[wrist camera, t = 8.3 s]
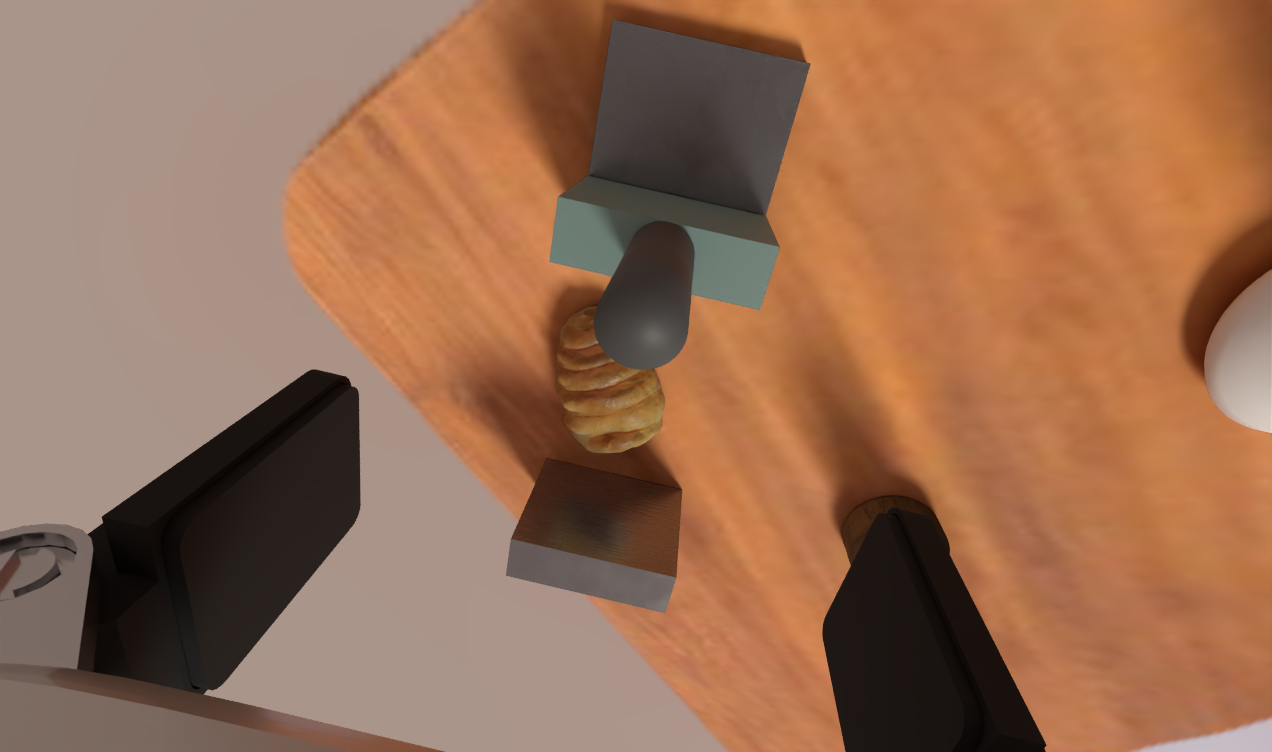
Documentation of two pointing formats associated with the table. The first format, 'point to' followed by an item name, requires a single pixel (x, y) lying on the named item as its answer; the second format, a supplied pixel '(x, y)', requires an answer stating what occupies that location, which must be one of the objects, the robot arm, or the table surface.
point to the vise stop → (599, 535)
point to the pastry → (604, 392)
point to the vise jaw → (658, 262)
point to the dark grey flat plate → (694, 117)
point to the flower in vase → (1243, 358)
